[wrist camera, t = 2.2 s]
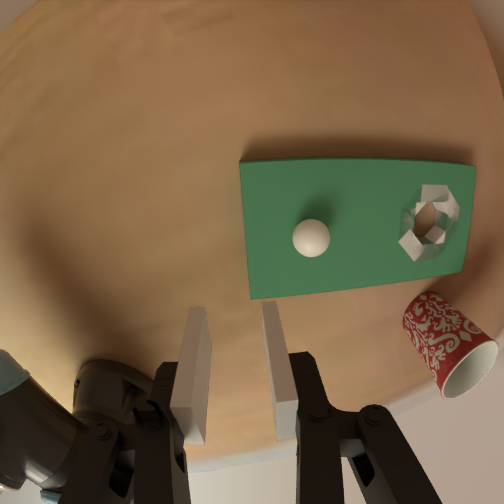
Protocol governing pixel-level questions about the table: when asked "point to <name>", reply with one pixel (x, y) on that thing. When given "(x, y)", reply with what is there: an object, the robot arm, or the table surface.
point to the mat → (353, 221)
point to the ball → (311, 238)
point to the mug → (449, 344)
